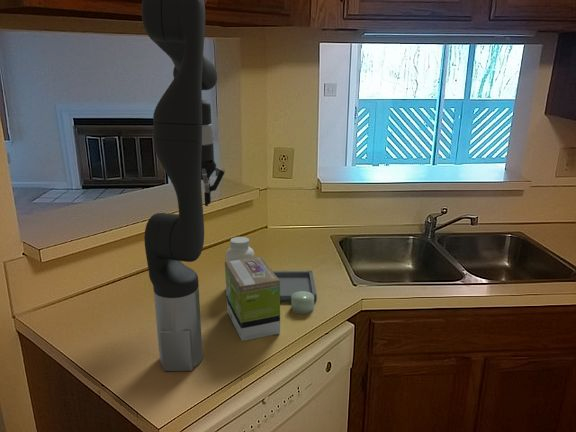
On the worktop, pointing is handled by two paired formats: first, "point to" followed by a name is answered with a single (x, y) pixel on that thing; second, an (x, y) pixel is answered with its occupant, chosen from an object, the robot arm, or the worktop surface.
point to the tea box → (253, 298)
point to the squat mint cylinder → (302, 302)
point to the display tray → (295, 283)
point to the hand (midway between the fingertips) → (201, 205)
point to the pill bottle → (239, 249)
